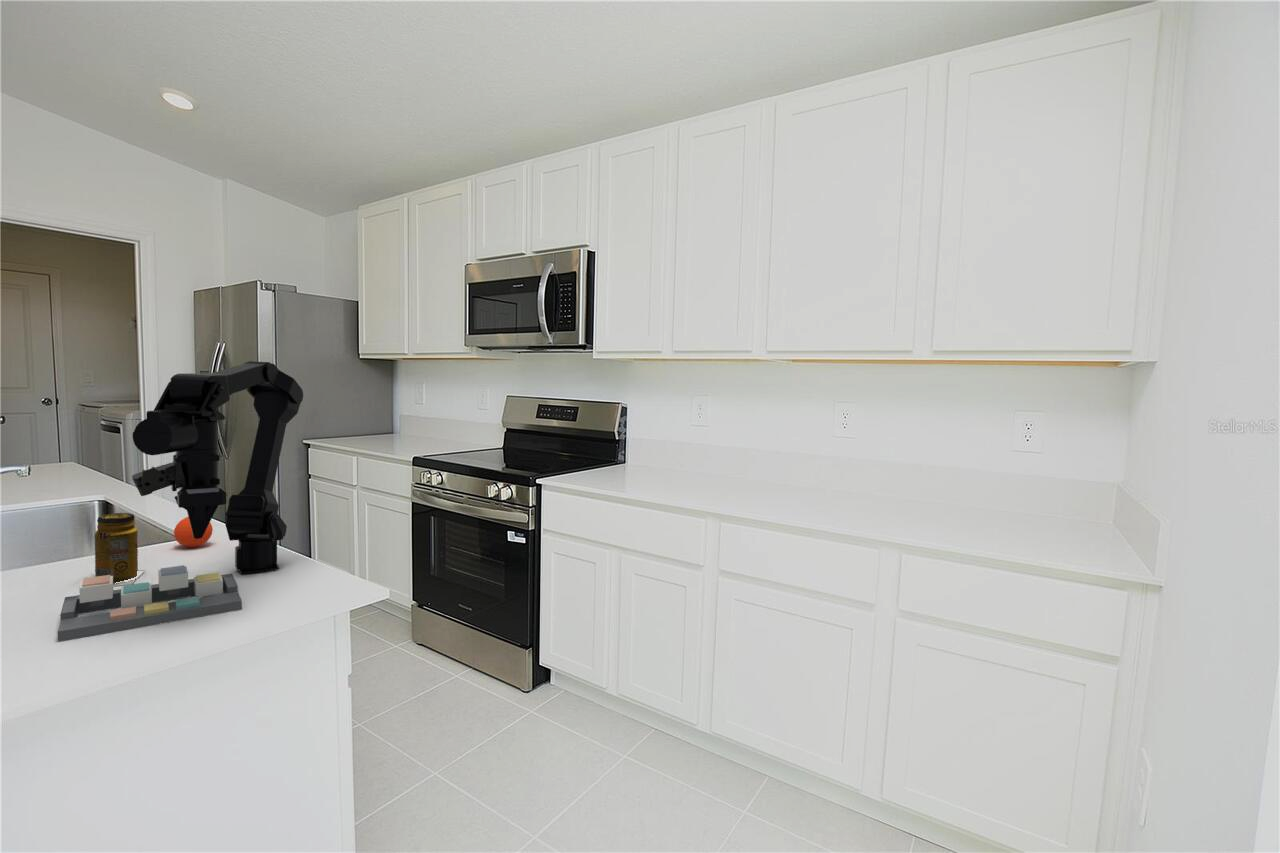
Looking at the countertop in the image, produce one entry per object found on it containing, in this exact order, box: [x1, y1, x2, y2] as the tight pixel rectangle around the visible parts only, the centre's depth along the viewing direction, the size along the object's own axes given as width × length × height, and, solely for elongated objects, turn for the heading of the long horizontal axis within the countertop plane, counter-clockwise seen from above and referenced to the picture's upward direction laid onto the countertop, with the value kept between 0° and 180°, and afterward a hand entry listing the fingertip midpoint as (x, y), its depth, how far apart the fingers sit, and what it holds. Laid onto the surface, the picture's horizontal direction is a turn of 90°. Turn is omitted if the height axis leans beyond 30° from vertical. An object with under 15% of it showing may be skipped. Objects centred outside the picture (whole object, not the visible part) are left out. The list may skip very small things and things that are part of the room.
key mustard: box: [193, 572, 224, 598], centre depth 105 cm, size 4×4×4 cm
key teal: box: [120, 581, 153, 609], centre depth 98 cm, size 4×4×4 cm
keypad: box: [57, 572, 243, 642], centre depth 99 cm, size 22×13×2 cm, turn 130°
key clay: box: [78, 575, 114, 607], centre depth 95 cm, size 4×4×4 cm
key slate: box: [157, 564, 189, 595], centre depth 101 cm, size 4×4×4 cm
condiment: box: [93, 512, 146, 587], centre depth 111 cm, size 7×8×12 cm
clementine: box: [173, 516, 214, 548], centre depth 133 cm, size 8×7×7 cm
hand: (197, 538), depth 103 cm, fingers closed
